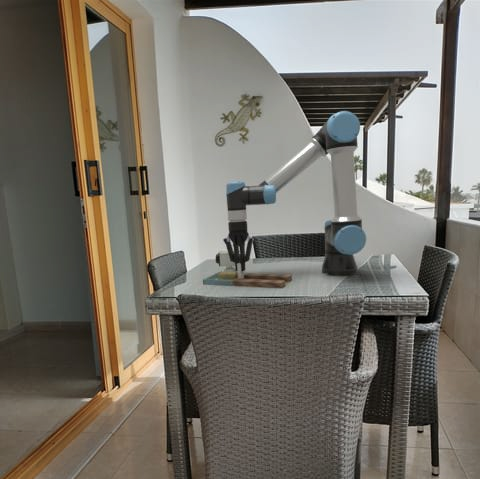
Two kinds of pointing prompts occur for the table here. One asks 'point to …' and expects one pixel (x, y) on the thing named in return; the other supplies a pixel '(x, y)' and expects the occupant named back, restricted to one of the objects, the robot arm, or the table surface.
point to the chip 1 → (221, 275)
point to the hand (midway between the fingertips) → (241, 278)
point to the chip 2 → (231, 275)
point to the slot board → (263, 280)
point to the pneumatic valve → (225, 261)
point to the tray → (216, 281)
